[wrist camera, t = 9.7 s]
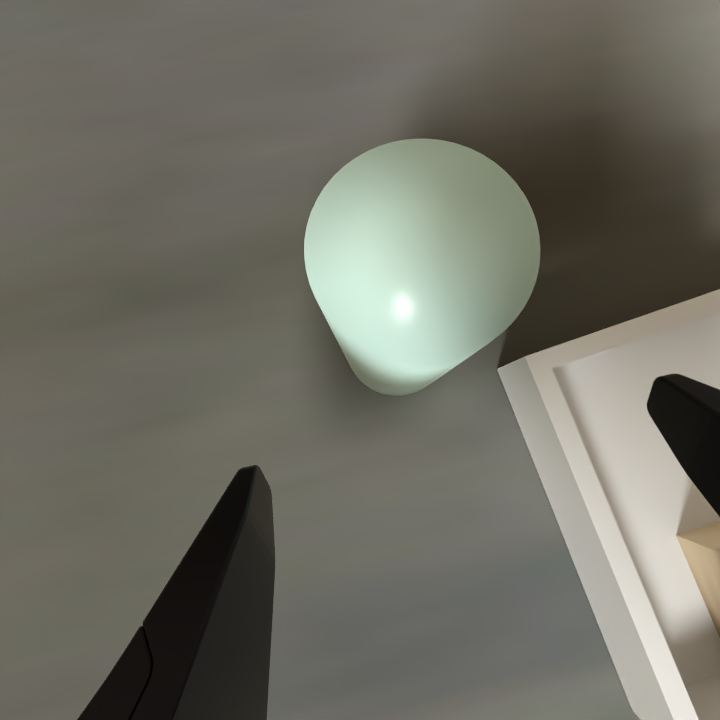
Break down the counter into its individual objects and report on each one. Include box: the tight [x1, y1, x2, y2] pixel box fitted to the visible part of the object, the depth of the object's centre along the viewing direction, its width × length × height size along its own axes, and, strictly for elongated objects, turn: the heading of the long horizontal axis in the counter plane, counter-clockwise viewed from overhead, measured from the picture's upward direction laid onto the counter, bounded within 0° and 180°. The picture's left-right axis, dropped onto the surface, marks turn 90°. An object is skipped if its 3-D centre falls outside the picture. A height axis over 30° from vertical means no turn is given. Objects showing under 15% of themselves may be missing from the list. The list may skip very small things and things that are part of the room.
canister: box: [304, 139, 540, 396], centre depth 15 cm, size 5×5×12 cm
